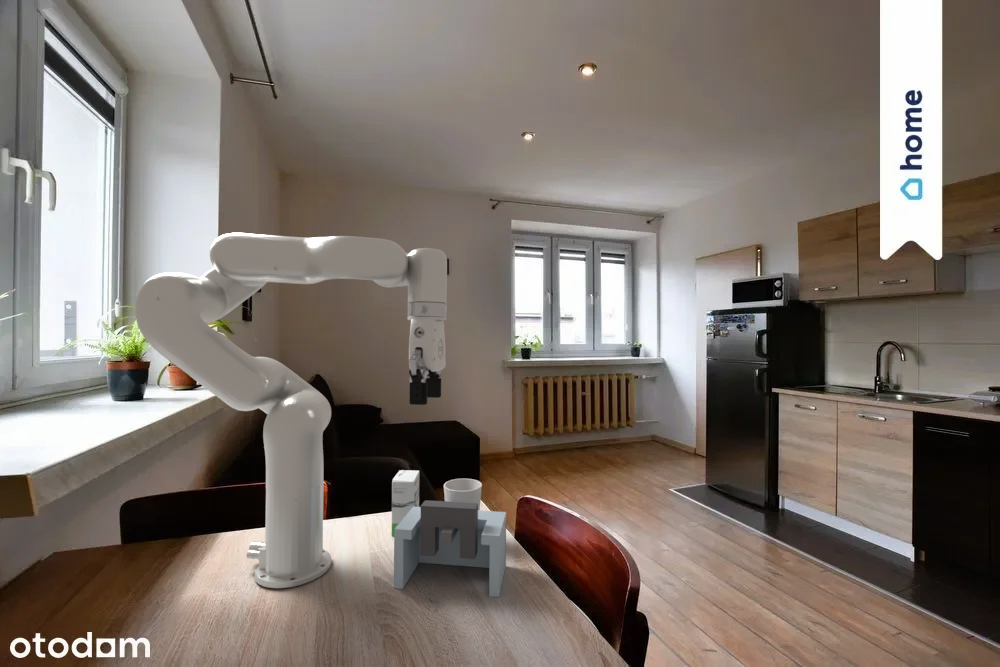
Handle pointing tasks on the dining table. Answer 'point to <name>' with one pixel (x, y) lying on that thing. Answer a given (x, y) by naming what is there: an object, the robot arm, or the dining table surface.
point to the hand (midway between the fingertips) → (426, 400)
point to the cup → (463, 491)
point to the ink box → (404, 495)
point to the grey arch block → (449, 526)
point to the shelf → (452, 548)
